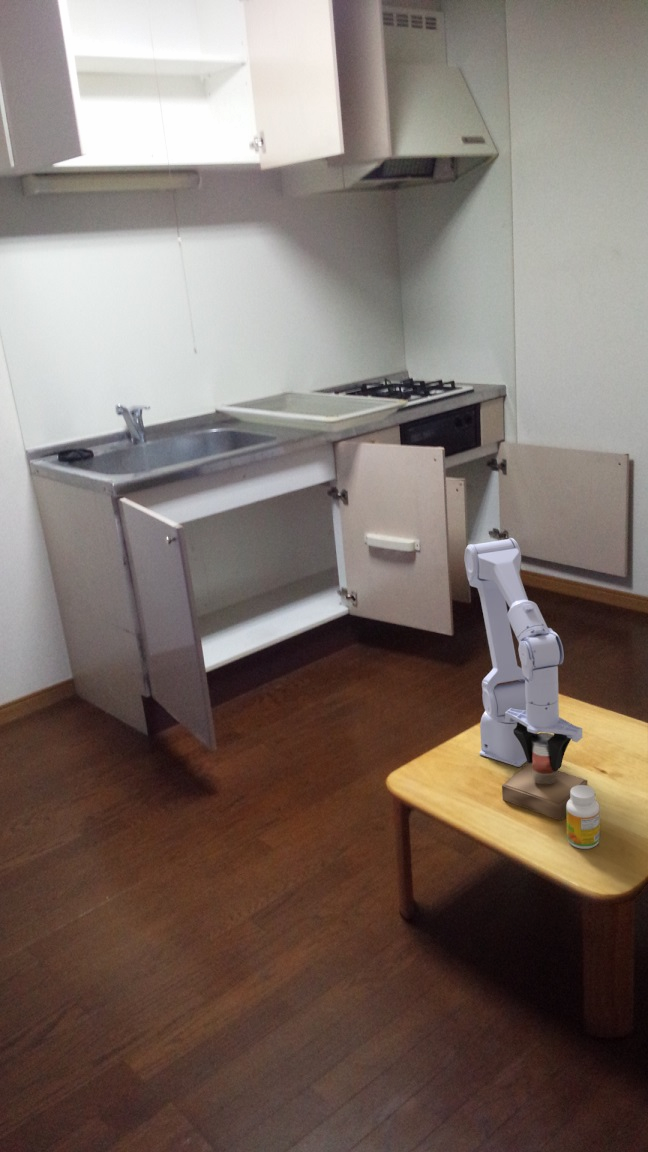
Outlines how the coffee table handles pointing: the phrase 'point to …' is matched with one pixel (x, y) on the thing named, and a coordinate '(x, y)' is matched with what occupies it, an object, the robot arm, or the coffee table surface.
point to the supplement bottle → (583, 817)
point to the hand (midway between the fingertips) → (544, 764)
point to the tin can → (542, 760)
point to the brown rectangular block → (541, 792)
